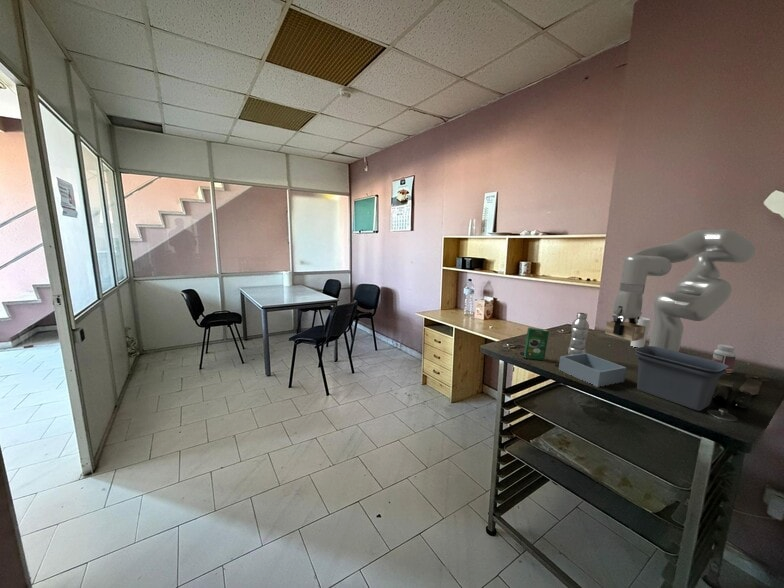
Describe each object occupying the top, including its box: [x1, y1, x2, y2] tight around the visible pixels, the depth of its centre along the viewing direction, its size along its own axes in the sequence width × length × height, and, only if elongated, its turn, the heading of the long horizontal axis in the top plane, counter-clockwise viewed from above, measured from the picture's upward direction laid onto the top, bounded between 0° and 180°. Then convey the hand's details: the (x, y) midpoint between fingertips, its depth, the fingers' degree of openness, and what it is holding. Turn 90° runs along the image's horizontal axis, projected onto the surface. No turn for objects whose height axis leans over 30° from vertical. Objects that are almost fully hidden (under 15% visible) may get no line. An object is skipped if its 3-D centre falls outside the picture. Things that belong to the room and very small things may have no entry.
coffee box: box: [523, 327, 549, 361], centre depth 133 cm, size 8×3×13 cm, turn 80°
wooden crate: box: [604, 320, 645, 342], centre depth 122 cm, size 7×10×5 cm
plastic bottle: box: [567, 312, 590, 355], centre depth 135 cm, size 6×7×20 cm
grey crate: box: [558, 352, 627, 388], centre depth 118 cm, size 15×16×6 cm
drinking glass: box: [630, 316, 652, 348], centre depth 156 cm, size 7×7×15 cm
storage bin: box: [634, 345, 729, 412], centre depth 103 cm, size 21×16×14 cm
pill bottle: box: [711, 343, 737, 373], centre depth 128 cm, size 6×6×11 cm
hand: (624, 333), depth 122 cm, fingers closed on wooden crate, 7 cm apart
